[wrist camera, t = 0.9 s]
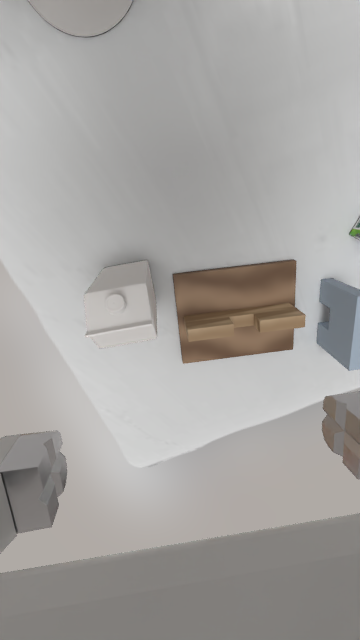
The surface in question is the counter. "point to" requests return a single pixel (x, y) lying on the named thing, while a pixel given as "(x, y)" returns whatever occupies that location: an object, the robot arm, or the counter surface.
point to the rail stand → (237, 310)
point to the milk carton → (121, 306)
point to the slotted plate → (341, 323)
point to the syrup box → (356, 230)
